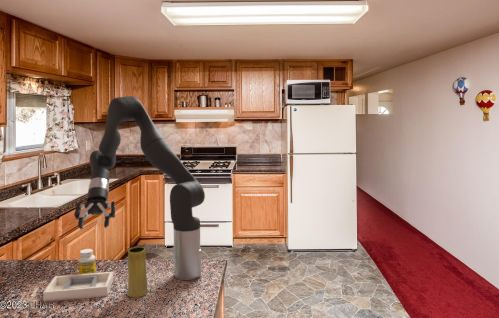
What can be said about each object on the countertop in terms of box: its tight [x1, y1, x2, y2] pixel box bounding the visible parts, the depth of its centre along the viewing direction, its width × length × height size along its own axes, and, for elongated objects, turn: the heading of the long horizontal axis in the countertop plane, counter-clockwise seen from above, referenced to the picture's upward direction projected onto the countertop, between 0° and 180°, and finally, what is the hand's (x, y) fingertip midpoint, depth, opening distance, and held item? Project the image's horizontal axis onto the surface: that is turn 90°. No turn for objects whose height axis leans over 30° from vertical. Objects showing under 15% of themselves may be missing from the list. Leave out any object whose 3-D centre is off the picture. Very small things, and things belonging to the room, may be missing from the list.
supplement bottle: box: [77, 248, 97, 275], centre depth 119 cm, size 5×5×10 cm
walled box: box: [42, 271, 114, 303], centre depth 110 cm, size 18×11×3 cm, turn 103°
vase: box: [127, 246, 149, 298], centre depth 108 cm, size 6×6×14 cm
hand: (93, 227), depth 129 cm, fingers open, 8 cm apart
